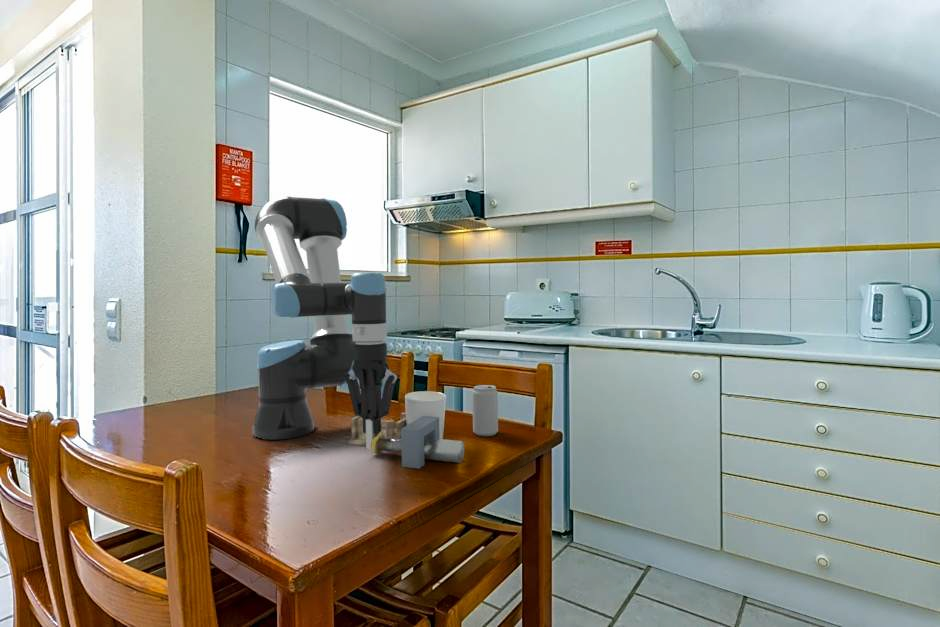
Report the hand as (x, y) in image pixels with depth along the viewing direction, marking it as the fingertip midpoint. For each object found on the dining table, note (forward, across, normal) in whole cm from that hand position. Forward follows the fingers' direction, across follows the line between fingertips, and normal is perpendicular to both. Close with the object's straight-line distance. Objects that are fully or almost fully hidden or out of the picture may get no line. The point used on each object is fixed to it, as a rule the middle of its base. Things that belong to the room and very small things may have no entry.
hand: (372, 447), depth 116 cm
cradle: (+2, -3, +10) cm, 11 cm away
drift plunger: (+1, +6, 0) cm, 6 cm away
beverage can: (+2, +19, +23) cm, 30 cm away
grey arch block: (+2, +12, 0) cm, 12 cm away
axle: (0, +16, +1) cm, 16 cm away
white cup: (+2, +8, +11) cm, 14 cm away
